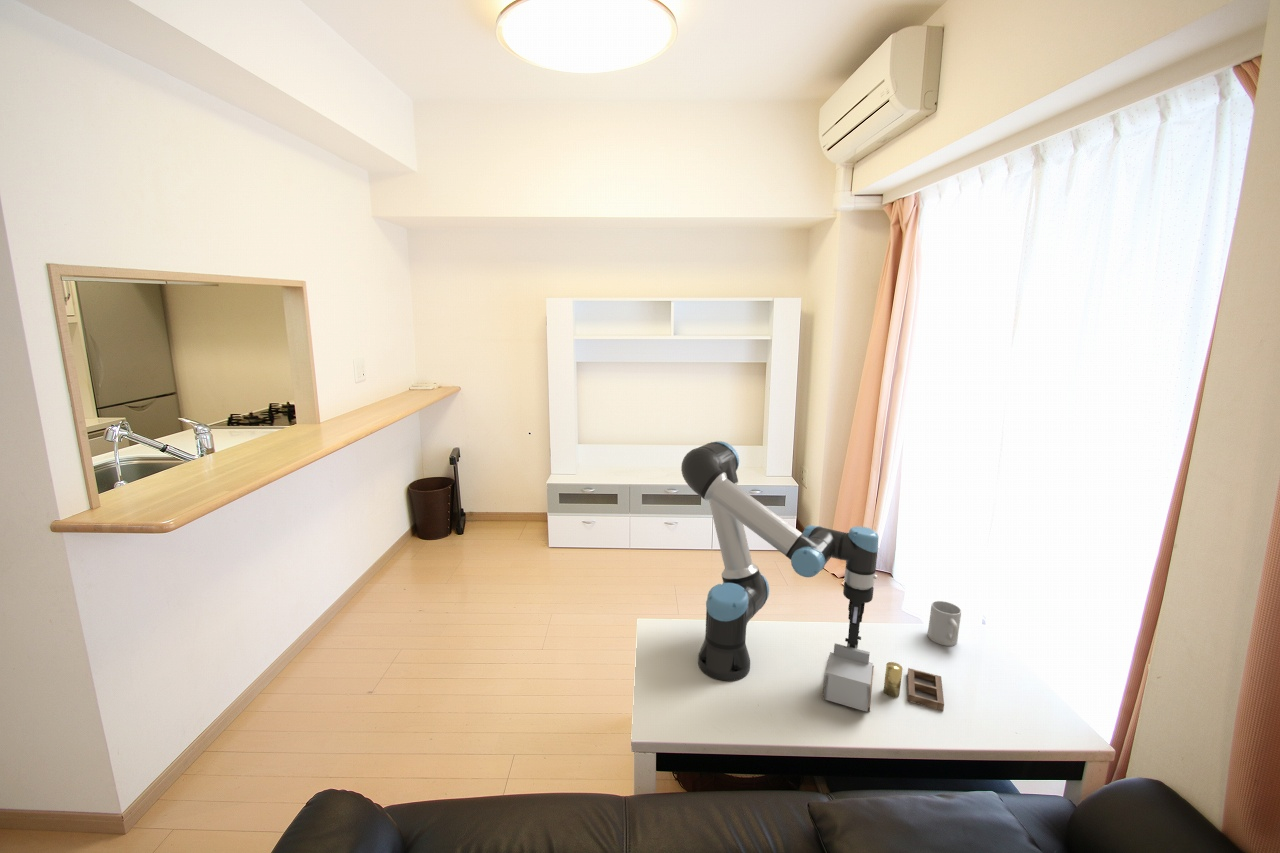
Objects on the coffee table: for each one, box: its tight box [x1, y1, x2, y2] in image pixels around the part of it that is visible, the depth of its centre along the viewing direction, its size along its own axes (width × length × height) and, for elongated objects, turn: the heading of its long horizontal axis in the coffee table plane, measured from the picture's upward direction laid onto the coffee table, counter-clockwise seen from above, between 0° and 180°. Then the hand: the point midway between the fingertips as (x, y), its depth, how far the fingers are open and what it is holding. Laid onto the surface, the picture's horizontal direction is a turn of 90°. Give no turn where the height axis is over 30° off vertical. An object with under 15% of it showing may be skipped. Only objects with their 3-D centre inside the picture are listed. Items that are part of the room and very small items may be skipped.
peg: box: [882, 661, 904, 699], centre depth 150 cm, size 4×4×8 cm
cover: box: [822, 643, 874, 713], centre depth 147 cm, size 11×10×11 cm
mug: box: [927, 600, 962, 647], centre depth 175 cm, size 12×8×11 cm
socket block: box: [907, 667, 945, 712], centre depth 151 cm, size 8×13×2 cm, turn 155°
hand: (850, 661), depth 154 cm, fingers closed
